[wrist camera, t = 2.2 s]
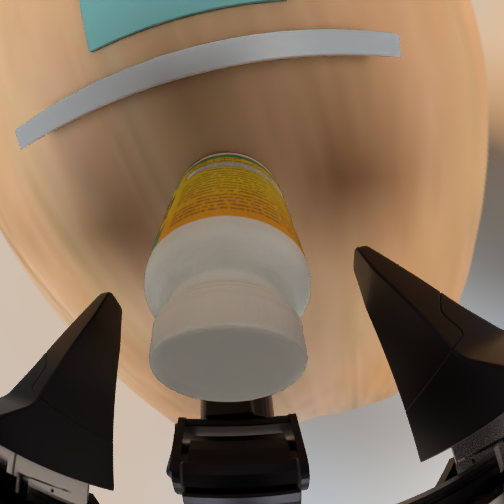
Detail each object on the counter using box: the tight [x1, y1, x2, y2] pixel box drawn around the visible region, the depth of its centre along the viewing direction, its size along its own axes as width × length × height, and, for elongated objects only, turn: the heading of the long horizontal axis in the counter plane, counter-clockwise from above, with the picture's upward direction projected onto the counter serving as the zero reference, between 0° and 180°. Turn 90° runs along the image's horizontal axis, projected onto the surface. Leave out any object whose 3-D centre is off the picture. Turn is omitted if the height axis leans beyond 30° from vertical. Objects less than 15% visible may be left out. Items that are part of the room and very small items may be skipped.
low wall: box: [15, 29, 402, 149], centre depth 9 cm, size 1×16×3 cm, turn 100°
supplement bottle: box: [144, 153, 311, 402], centre depth 10 cm, size 5×5×10 cm
